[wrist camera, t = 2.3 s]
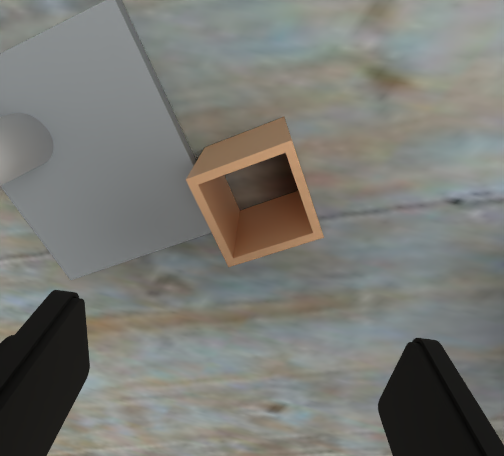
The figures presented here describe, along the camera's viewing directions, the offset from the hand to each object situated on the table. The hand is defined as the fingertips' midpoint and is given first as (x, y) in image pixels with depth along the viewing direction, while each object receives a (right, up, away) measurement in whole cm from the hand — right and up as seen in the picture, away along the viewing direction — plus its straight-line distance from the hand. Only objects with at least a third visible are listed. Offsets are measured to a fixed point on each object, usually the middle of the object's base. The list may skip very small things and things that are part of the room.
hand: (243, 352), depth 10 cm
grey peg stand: (-11, +9, +15) cm, 21 cm away
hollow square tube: (+1, +8, +15) cm, 17 cm away
